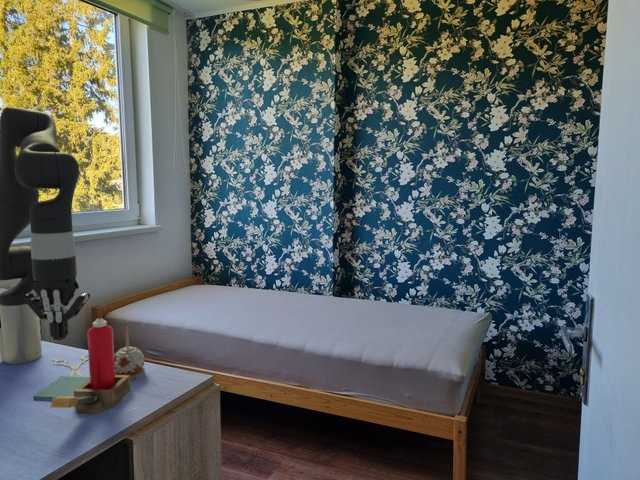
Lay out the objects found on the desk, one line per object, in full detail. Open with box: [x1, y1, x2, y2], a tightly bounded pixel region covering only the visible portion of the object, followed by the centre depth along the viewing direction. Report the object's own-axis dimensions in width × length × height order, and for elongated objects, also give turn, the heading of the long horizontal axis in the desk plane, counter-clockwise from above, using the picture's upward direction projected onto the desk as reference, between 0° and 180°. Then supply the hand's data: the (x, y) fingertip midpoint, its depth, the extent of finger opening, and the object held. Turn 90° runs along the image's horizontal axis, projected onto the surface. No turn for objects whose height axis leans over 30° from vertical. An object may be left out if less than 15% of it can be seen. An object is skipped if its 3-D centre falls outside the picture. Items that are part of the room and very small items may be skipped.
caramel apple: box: [114, 321, 145, 380], centre depth 119 cm, size 8×8×15 cm
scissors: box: [51, 354, 89, 377], centre depth 124 cm, size 11×1×20 cm
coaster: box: [32, 375, 90, 401], centre depth 112 cm, size 11×11×1 cm
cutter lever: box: [50, 396, 99, 409], centre depth 96 cm, size 12×4×2 cm, turn 178°
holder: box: [74, 375, 131, 415], centre depth 106 cm, size 9×12×4 cm
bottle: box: [86, 317, 116, 390], centre depth 106 cm, size 5×6×20 cm
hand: (59, 338), depth 90 cm, fingers closed
